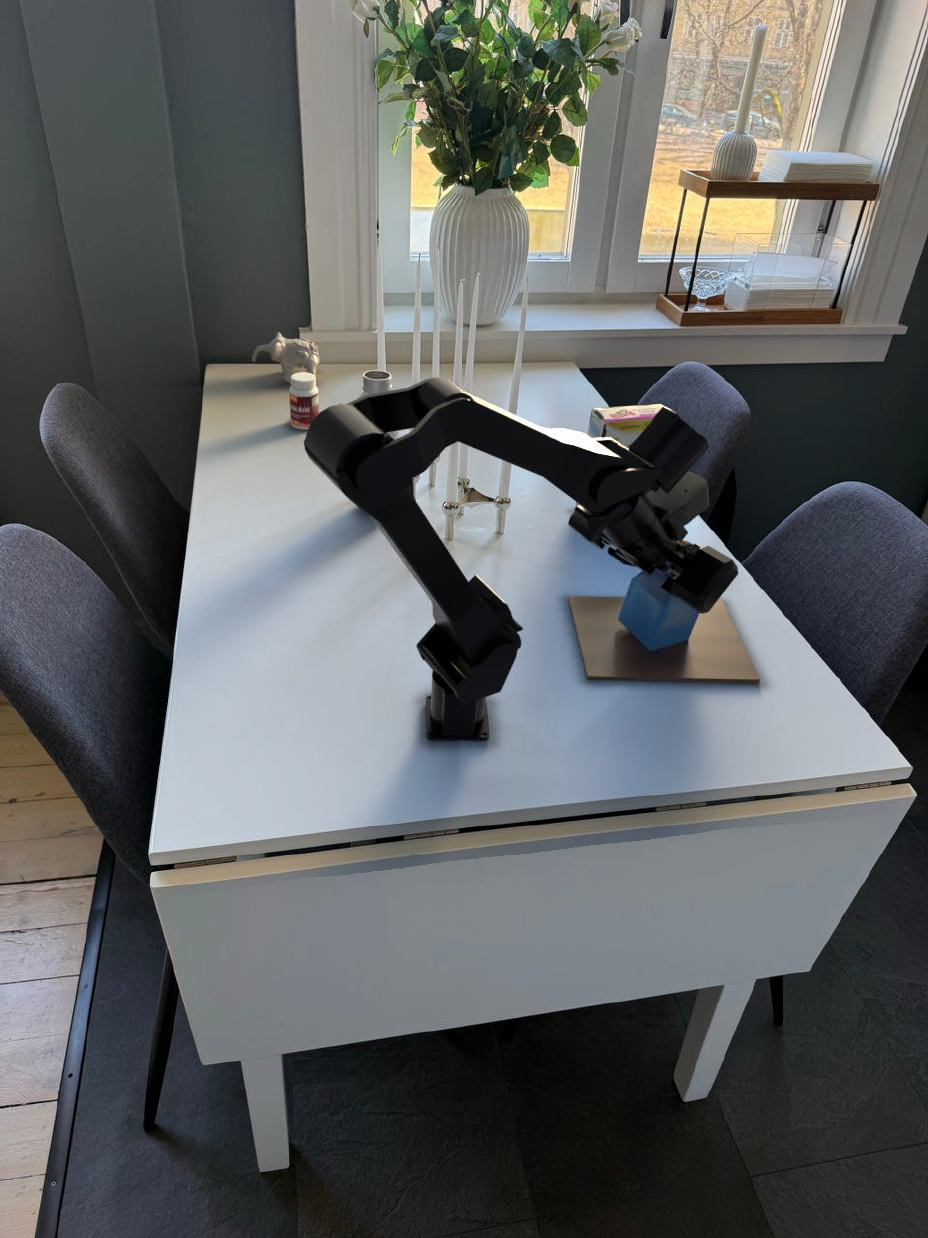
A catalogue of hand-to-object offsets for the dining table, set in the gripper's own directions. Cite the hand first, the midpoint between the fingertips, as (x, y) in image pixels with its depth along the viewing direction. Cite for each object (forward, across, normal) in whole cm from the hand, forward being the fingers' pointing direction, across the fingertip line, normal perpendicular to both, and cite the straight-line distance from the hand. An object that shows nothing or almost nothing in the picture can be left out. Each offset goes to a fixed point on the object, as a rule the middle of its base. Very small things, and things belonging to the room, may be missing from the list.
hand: (679, 578), depth 106 cm
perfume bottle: (+4, +1, +6) cm, 8 cm away
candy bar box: (+17, +24, -5) cm, 31 cm away
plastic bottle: (-3, +45, +15) cm, 47 cm away
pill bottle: (+1, +75, +11) cm, 76 cm away
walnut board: (+5, 0, +7) cm, 9 cm away
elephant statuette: (+6, +94, +6) cm, 95 cm away
